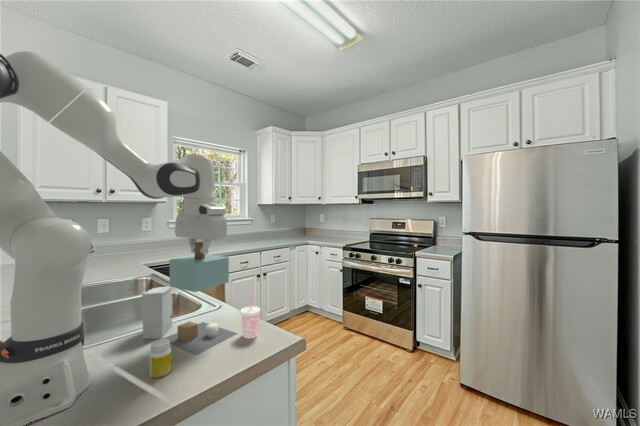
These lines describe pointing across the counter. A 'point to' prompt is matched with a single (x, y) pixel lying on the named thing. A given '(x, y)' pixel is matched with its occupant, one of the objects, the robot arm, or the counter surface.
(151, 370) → the supplement bottle
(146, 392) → the counter surface
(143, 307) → the skincare box
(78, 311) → the robot arm
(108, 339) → the counter surface
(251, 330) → the beverage cup
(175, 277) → the cover
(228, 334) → the mat
